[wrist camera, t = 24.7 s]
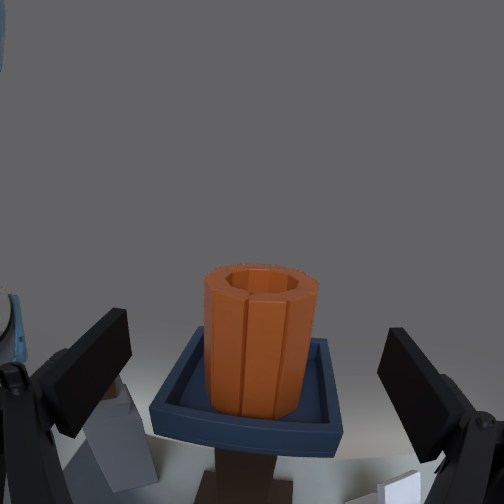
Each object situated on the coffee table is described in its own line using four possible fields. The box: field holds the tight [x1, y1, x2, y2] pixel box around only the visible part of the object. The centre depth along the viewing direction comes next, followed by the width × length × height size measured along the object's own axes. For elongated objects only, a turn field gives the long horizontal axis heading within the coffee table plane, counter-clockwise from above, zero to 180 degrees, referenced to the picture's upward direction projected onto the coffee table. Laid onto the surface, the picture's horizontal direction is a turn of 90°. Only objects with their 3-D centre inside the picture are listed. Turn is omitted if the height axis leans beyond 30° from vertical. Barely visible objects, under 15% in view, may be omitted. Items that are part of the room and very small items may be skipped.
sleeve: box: [204, 264, 319, 421], centre depth 20 cm, size 7×7×9 cm
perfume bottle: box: [83, 375, 159, 493], centre depth 29 cm, size 7×7×18 cm
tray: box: [149, 326, 343, 504], centre depth 24 cm, size 12×12×25 cm
